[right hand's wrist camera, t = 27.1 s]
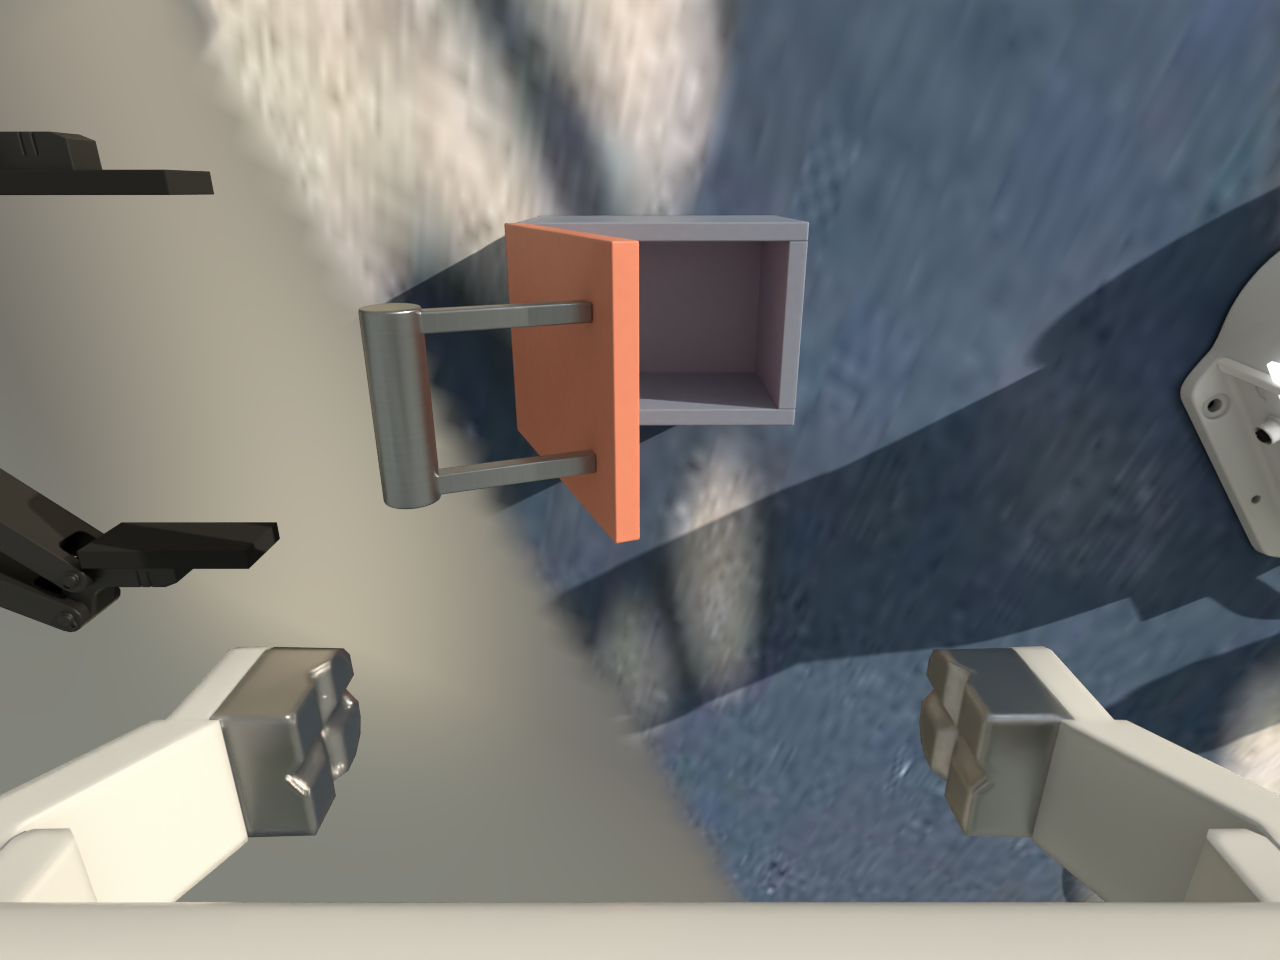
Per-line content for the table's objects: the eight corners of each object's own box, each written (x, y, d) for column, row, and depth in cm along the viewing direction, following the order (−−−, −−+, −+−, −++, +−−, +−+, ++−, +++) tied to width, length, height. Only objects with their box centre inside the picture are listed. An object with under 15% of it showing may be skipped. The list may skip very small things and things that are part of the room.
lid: (639, 240, 23) (352, 248, 20) (640, 539, 27) (397, 583, 24) (523, 222, 36) (336, 226, 33) (534, 427, 39) (367, 447, 37)
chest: (776, 215, 45) (809, 221, 36) (766, 382, 49) (794, 425, 40) (539, 215, 45) (515, 222, 36) (547, 383, 49) (527, 426, 40)
